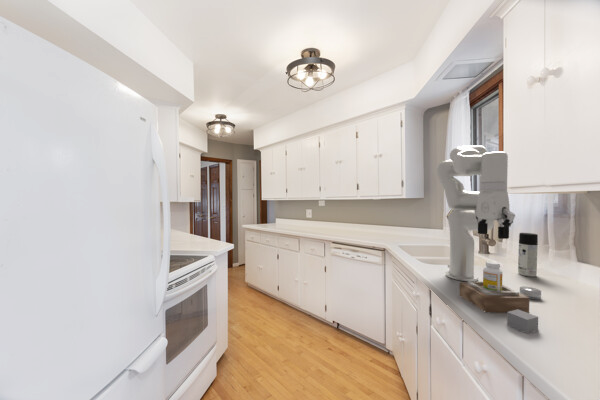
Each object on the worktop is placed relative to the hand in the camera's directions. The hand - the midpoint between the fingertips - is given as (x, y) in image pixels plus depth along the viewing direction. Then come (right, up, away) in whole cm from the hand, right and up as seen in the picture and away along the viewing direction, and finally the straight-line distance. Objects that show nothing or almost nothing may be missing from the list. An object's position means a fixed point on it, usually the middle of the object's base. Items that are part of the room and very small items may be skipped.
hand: (492, 236), depth 88 cm
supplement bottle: (0, -19, 0) cm, 19 cm away
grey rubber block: (-3, -25, -16) cm, 29 cm away
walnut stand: (0, -24, 0) cm, 24 cm away
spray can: (+41, -24, +32) cm, 57 cm away
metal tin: (+19, -24, +6) cm, 31 cm away
